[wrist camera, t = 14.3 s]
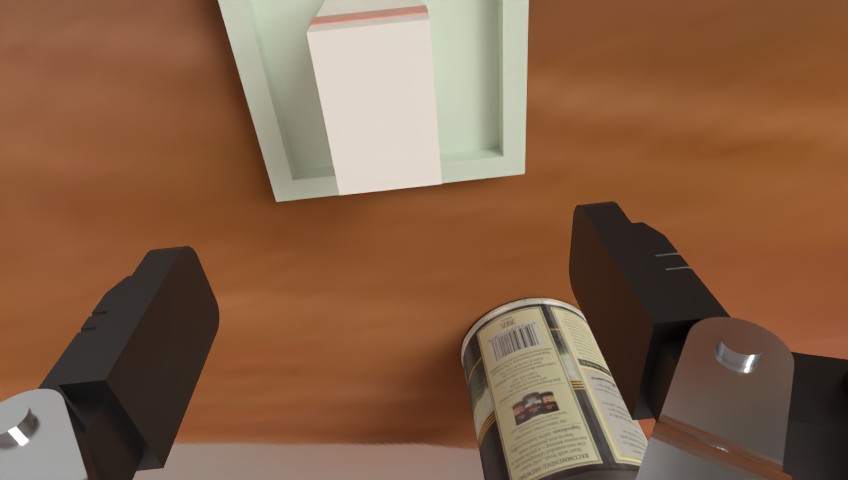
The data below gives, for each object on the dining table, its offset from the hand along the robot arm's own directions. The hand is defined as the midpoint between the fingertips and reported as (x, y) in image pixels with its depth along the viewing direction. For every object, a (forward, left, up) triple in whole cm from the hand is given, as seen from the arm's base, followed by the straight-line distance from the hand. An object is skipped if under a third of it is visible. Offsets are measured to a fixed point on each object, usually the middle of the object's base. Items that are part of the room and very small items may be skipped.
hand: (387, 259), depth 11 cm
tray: (0, 0, -19) cm, 19 cm away
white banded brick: (0, 0, -18) cm, 18 cm away
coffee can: (-8, +23, -19) cm, 31 cm away
